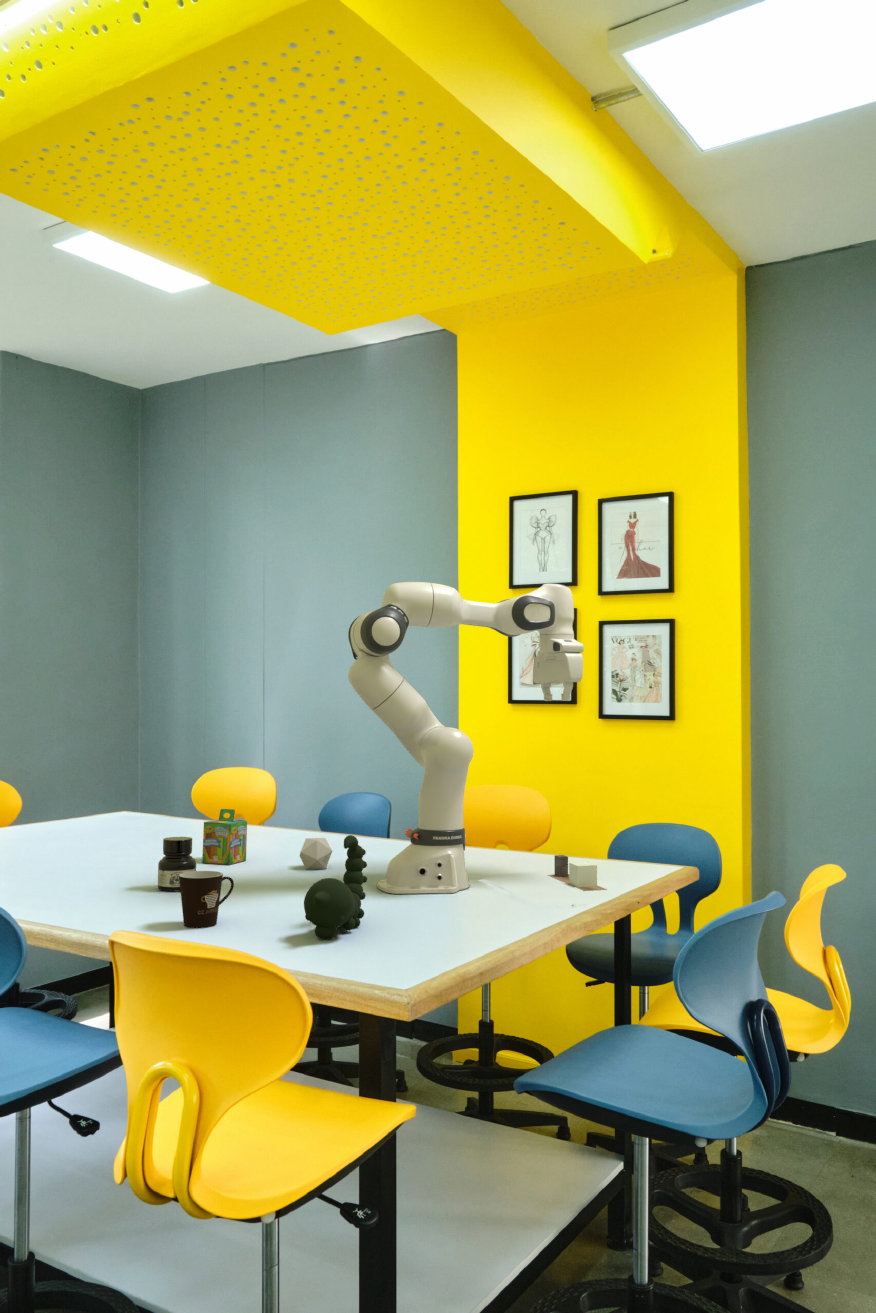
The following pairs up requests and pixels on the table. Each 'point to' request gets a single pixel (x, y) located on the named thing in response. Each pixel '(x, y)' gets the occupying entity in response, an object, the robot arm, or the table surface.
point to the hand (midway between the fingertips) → (556, 700)
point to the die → (315, 853)
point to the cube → (583, 874)
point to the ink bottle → (175, 862)
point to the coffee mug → (201, 897)
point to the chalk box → (224, 840)
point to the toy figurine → (338, 896)
